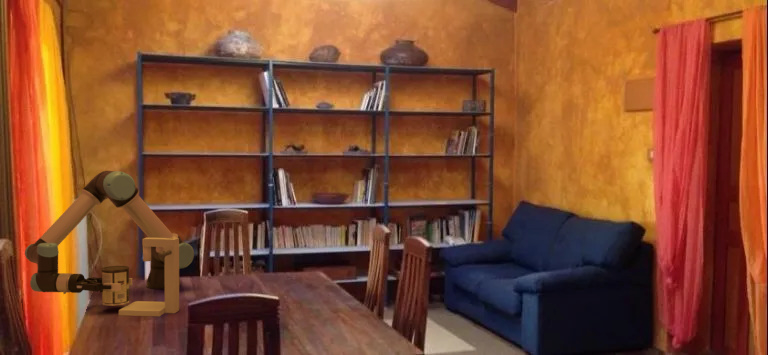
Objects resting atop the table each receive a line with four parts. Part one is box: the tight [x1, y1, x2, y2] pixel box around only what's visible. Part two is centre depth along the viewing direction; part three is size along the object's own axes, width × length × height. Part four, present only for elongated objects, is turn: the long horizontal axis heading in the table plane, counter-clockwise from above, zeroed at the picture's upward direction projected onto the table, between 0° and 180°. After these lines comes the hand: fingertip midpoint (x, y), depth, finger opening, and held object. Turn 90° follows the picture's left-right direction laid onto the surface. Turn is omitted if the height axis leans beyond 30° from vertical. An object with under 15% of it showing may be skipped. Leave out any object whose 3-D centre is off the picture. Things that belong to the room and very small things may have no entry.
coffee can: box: [101, 265, 130, 307], centre depth 277 cm, size 10×10×14 cm
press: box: [118, 237, 180, 317], centre depth 274 cm, size 20×20×29 cm
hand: (126, 284), depth 277 cm, fingers closed on coffee can, 10 cm apart
